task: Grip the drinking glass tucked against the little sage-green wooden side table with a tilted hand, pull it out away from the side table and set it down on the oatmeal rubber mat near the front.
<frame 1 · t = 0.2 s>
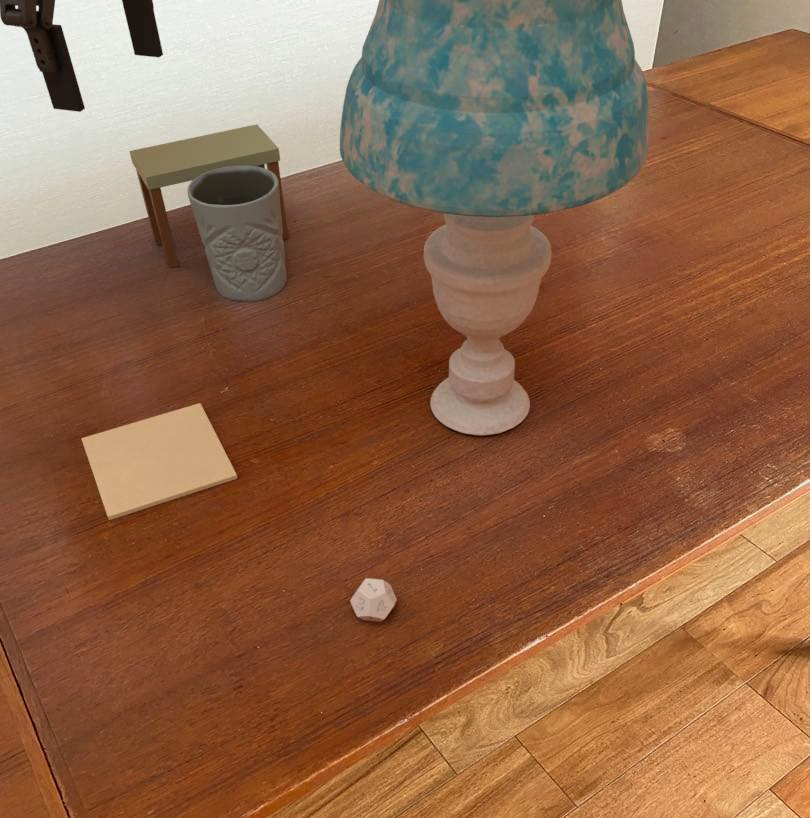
hand: (111, 80, 80), 26 cm above the table, tool pointing down, fingers open, 13 cm apart
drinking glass: (250, 283, 104), on the table
game die: (374, 613, 69), on the table
table lamp: (479, 408, 87), on the table
side table: (221, 240, 111), on the table
mat: (158, 459, 82), on the table
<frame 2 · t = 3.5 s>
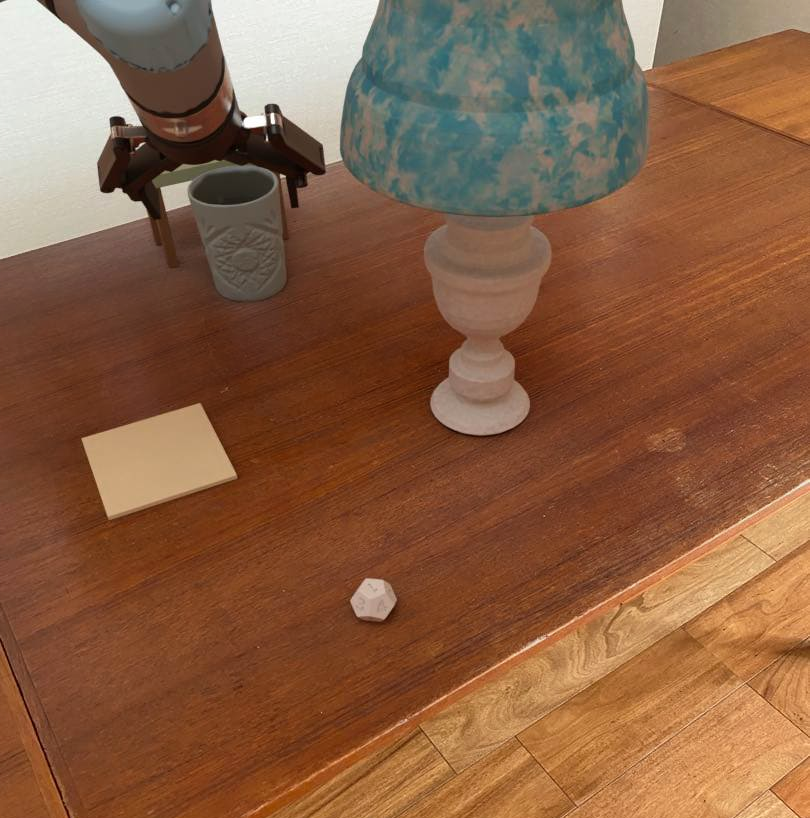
hand: (225, 200, 86), 15 cm above the table, tool tilted 45°, fingers open, 13 cm apart
nothing on the table moved.
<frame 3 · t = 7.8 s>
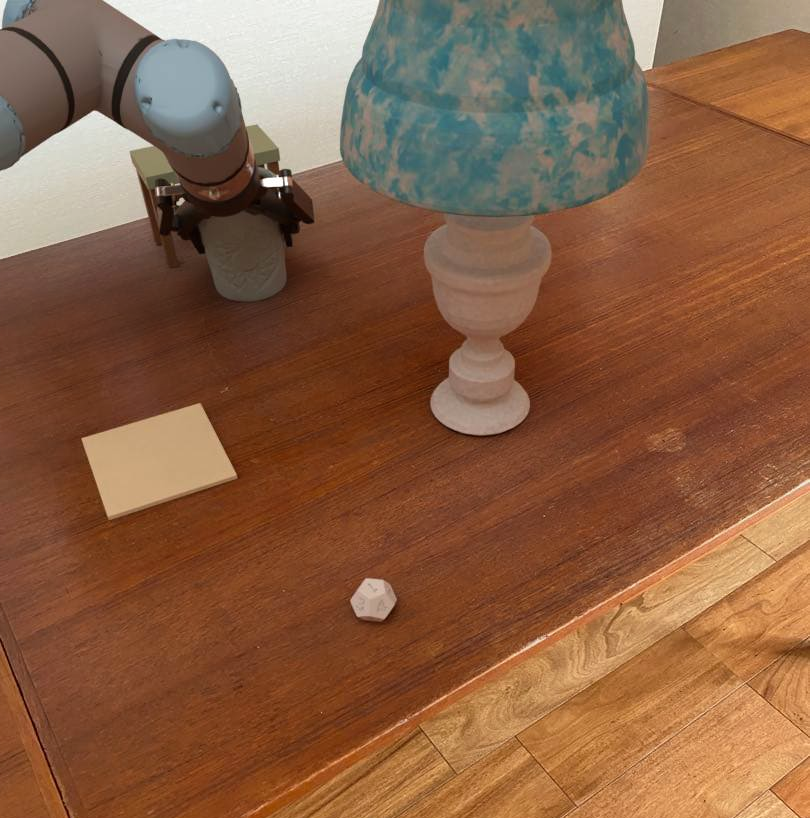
hand: (245, 239, 103), 4 cm above the table, tool tilted 45°, fingers closed on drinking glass, 10 cm apart
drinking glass: (250, 283, 104), on the table, touching gripper
everything else where it was.
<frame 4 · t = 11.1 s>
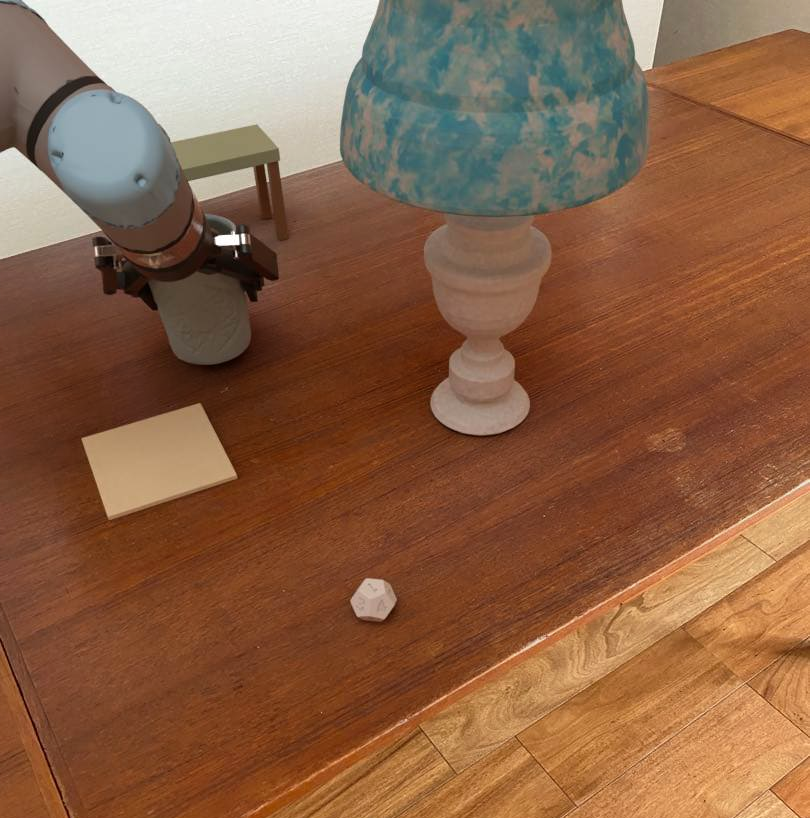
hand: (204, 293, 92), 5 cm above the table, tool tilted 45°, fingers closed on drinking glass, 10 cm apart
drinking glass: (210, 342, 93), point 1 cm above the table, touching gripper
everything else where it was.
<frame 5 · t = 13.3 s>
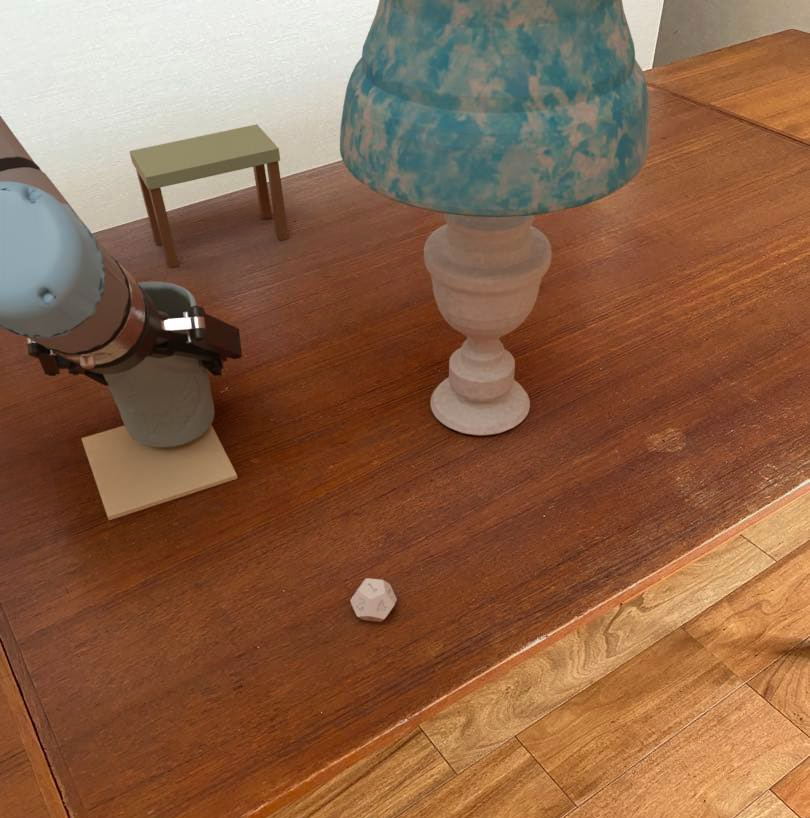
hand: (162, 366, 83), 5 cm above the table, tool tilted 45°, fingers closed on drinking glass, 10 cm apart
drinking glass: (169, 419, 84), point 1 cm above the table, touching gripper
everything else where it was.
when the fingers open (4 cm above the table, at t = 14.9 s): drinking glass stays where it is, resting on mat.
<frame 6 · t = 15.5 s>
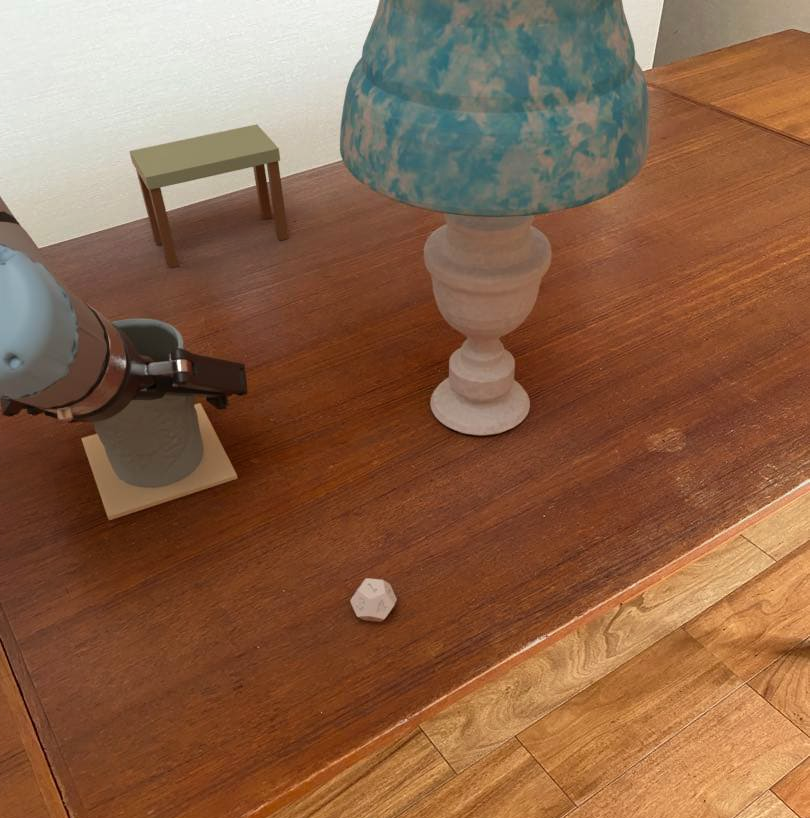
hand: (147, 401, 80), 5 cm above the table, tool tilted 45°, fingers open, 13 cm apart
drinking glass: (157, 457, 82), resting on mat
everything else where it was.
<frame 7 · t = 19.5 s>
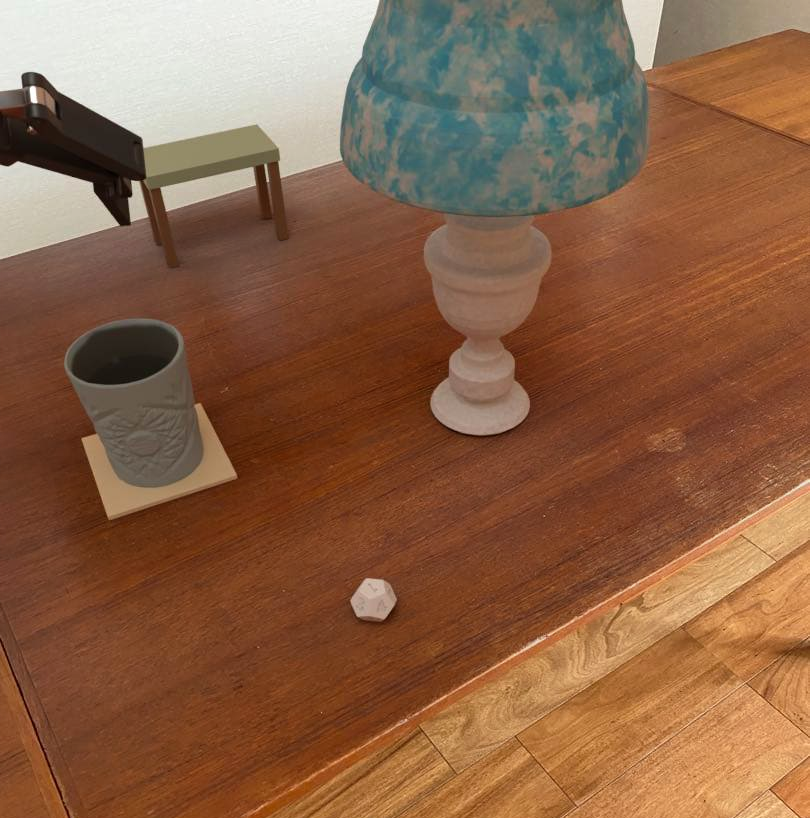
hand: (28, 214, 62), 26 cm above the table, tool tilted 45°, fingers open, 13 cm apart
nothing on the table moved.
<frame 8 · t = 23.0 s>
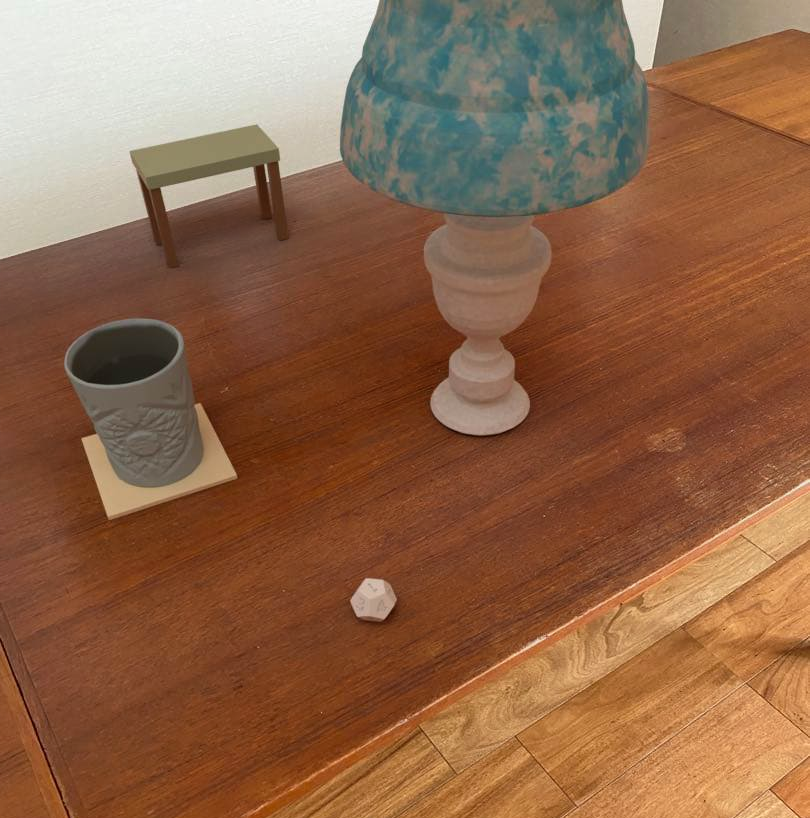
nothing on the table moved.
at the end: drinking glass inside the target area on the mat (0.0 cm from its centre), point 0.3 cm above the mat's base; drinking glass tilted 0°; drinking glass moved 32.1 cm from its start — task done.
